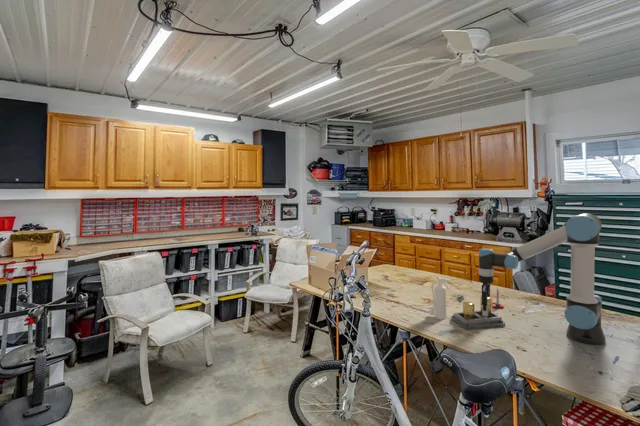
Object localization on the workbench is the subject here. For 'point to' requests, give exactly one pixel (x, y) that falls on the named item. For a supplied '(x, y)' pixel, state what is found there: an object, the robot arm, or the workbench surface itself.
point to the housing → (476, 318)
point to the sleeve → (489, 303)
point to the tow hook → (497, 302)
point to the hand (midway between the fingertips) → (486, 313)
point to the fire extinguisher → (439, 299)
